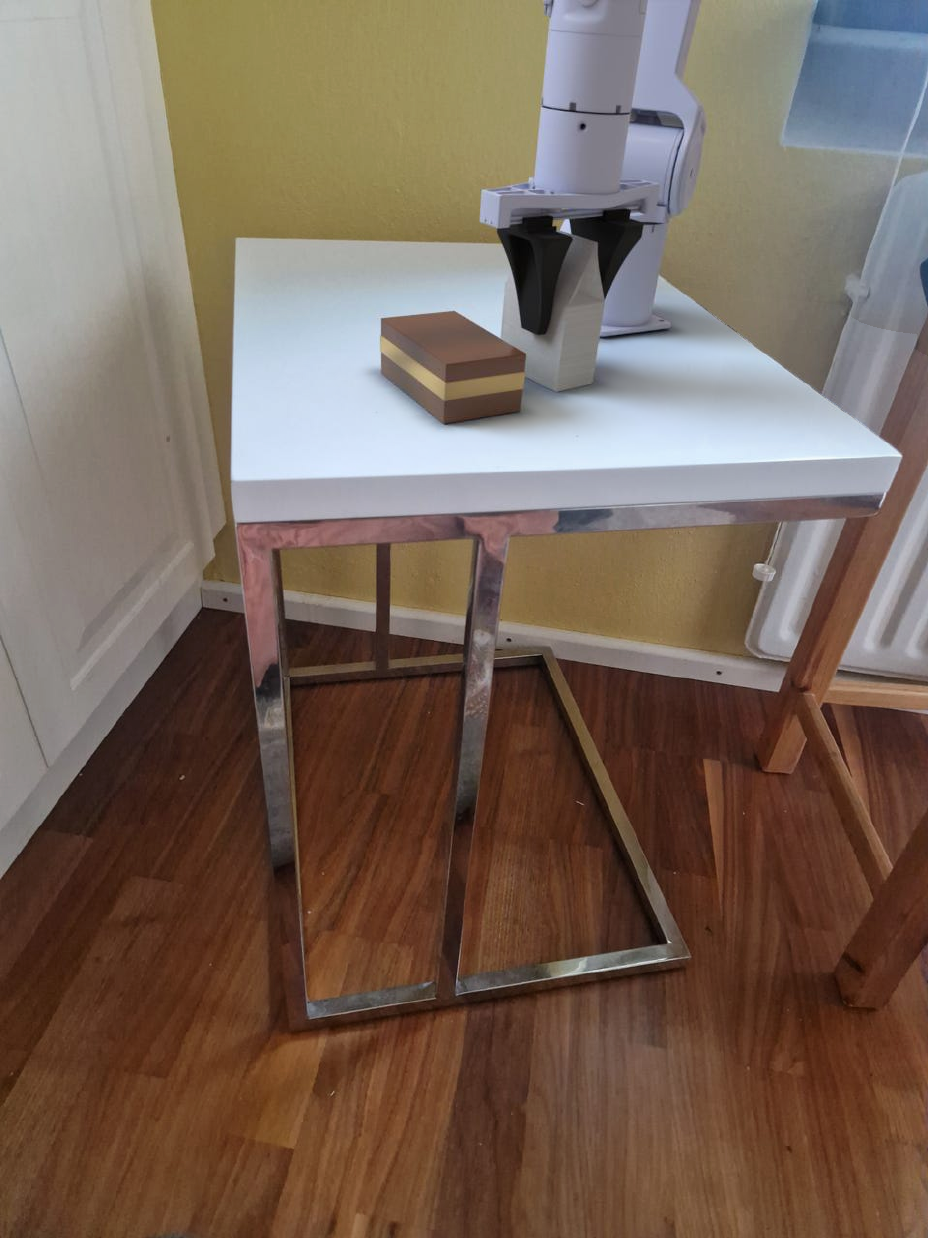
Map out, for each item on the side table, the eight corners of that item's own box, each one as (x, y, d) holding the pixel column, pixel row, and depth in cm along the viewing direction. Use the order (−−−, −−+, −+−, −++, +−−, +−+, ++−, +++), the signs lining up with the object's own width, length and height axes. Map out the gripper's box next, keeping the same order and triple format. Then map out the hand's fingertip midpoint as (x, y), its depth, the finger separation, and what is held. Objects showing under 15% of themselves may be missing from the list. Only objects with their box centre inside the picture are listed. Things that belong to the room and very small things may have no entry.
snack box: (379, 372, 61) (379, 317, 59) (452, 363, 64) (454, 310, 61) (443, 424, 54) (446, 364, 52) (521, 411, 57) (527, 353, 54)
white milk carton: (555, 391, 60) (574, 244, 54) (498, 363, 64) (510, 223, 58) (592, 383, 62) (614, 240, 56) (534, 355, 66) (549, 220, 60)
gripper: (621, 102, 59) (592, 299, 67) (456, 101, 51) (446, 323, 59) (697, 114, 54) (656, 324, 62) (529, 115, 47) (508, 353, 55)
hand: (558, 326), depth 60 cm, fingers open, 4 cm apart
